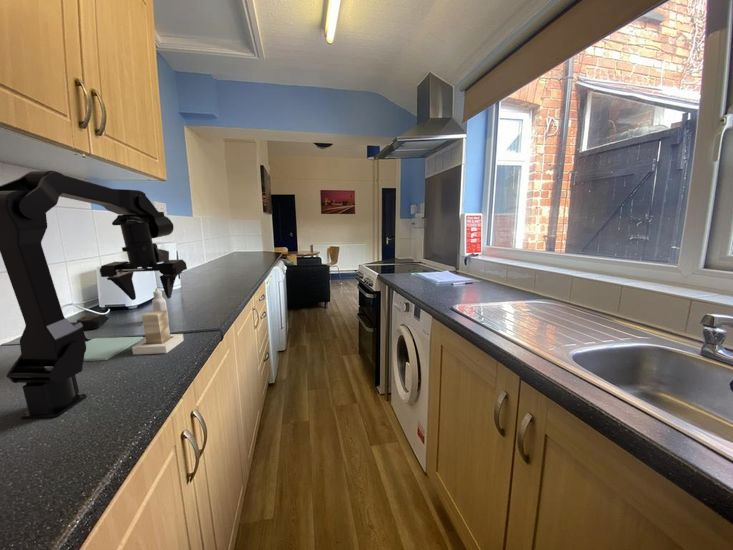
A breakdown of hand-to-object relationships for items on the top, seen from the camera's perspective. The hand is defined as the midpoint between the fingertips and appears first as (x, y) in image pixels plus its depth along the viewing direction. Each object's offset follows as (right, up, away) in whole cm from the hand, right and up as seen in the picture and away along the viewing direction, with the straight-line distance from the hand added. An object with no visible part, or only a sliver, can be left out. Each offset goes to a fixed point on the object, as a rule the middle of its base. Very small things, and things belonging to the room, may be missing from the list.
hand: (151, 298), depth 81 cm
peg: (0, -14, +3) cm, 14 cm away
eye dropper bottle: (-14, -10, +24) cm, 30 cm away
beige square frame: (0, -14, +3) cm, 14 cm away
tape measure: (-33, -11, +20) cm, 40 cm away
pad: (-16, -14, +2) cm, 21 cm away
